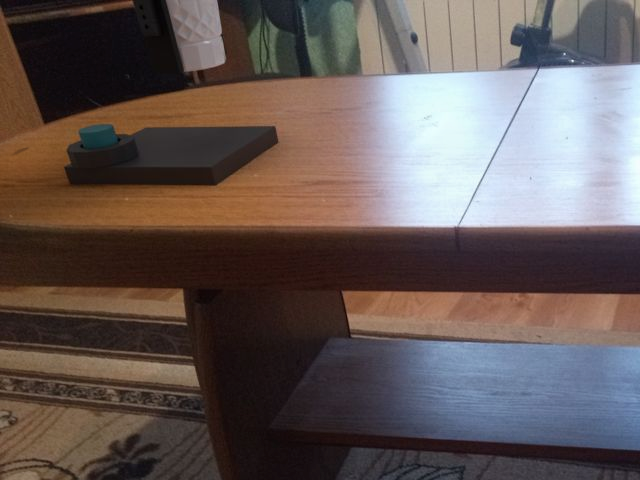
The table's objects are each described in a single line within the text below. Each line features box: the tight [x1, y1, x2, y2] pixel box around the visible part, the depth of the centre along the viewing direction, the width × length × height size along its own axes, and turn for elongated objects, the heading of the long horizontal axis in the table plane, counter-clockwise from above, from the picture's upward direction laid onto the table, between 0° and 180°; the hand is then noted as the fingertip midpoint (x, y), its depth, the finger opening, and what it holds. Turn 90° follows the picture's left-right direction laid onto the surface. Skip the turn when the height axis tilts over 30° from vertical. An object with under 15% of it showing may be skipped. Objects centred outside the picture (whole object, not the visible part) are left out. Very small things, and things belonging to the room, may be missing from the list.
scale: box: [63, 125, 279, 186], centre depth 75 cm, size 16×15×4 cm
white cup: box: [131, 0, 227, 73], centre depth 70 cm, size 8×8×10 cm
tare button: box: [77, 123, 118, 148], centre depth 72 cm, size 3×3×2 cm
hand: (192, 63), depth 72 cm, fingers closed on white cup, 8 cm apart
